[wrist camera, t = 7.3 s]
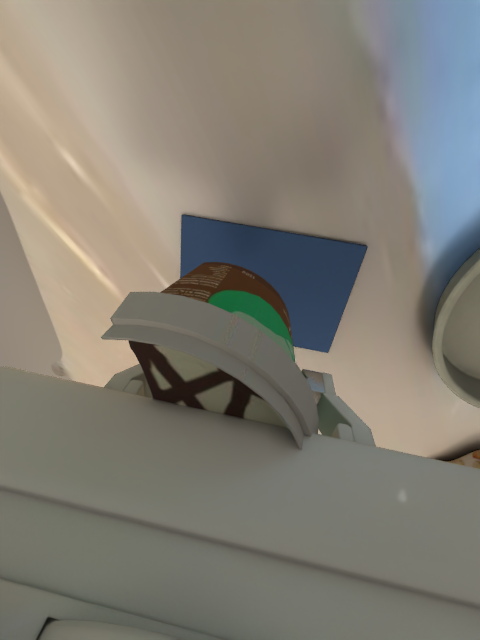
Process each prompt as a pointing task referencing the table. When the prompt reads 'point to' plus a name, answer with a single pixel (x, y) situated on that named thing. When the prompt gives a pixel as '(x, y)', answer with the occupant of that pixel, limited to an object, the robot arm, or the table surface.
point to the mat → (282, 270)
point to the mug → (469, 460)
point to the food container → (219, 347)
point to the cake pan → (460, 332)
